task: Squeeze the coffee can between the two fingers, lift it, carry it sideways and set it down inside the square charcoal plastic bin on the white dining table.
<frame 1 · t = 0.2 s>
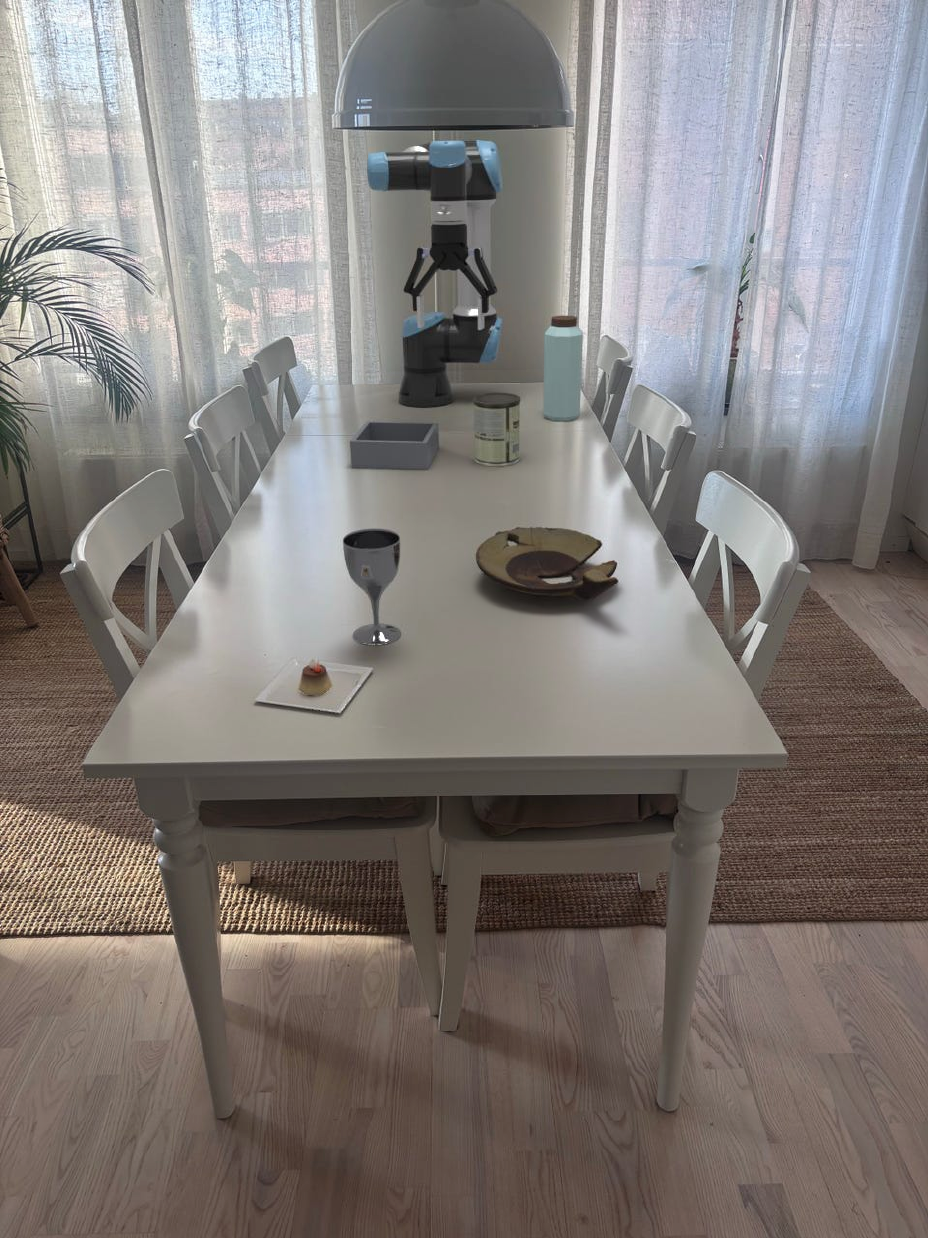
hand: (450, 327, 213), 28 cm above the table, fingers open, 13 cm apart
dessert: (316, 692, 130), on the table
brown shallow dish: (547, 589, 157), on the table
water bottle: (561, 417, 253), on the table
bin: (396, 457, 223), on the table
wine glass: (377, 635, 143), on the table
coffee can: (496, 460, 220), on the table
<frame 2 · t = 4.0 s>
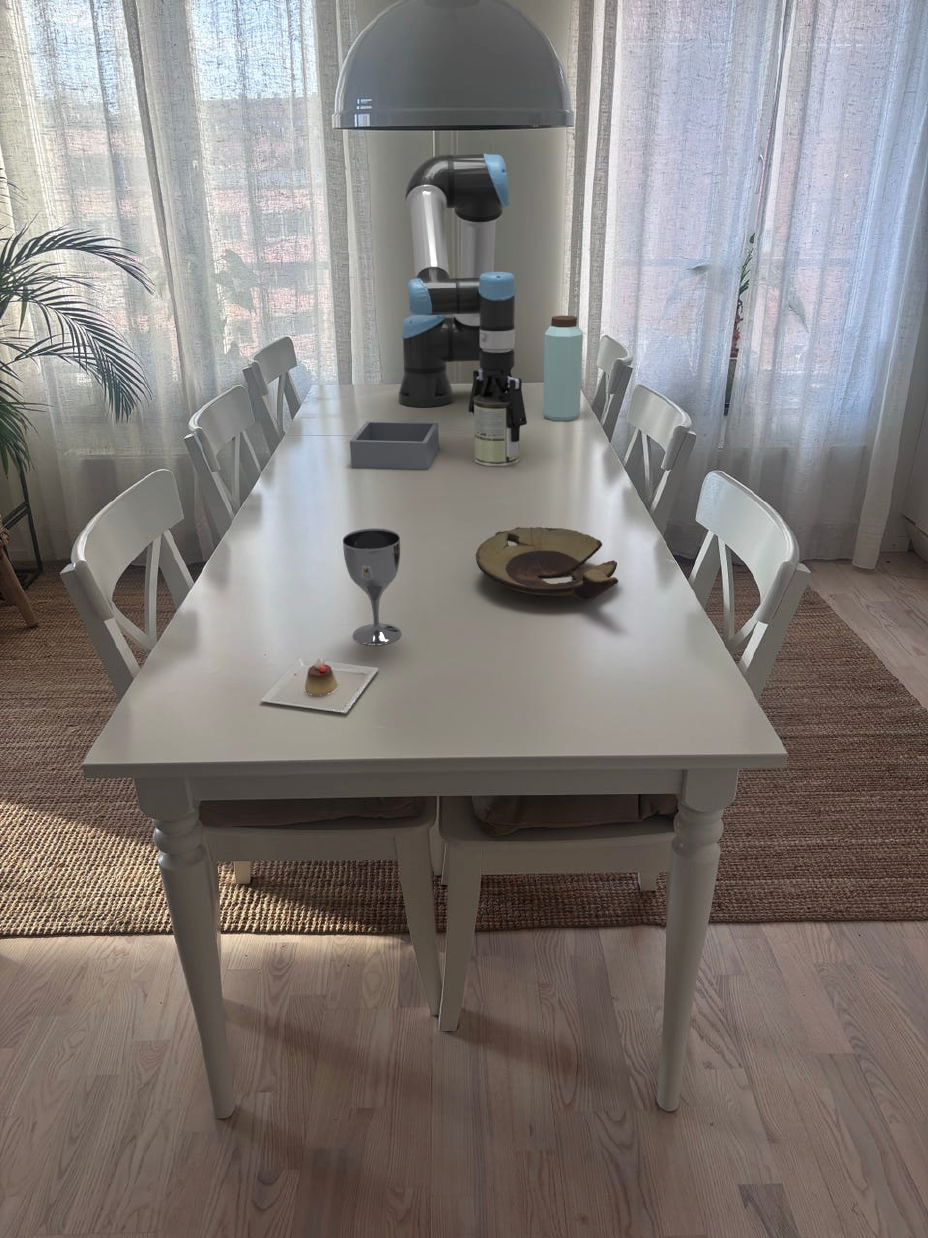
hand: (496, 450, 219), 2 cm above the table, fingers closed on coffee can, 10 cm apart
coffee can: (496, 460, 220), on the table, touching gripper
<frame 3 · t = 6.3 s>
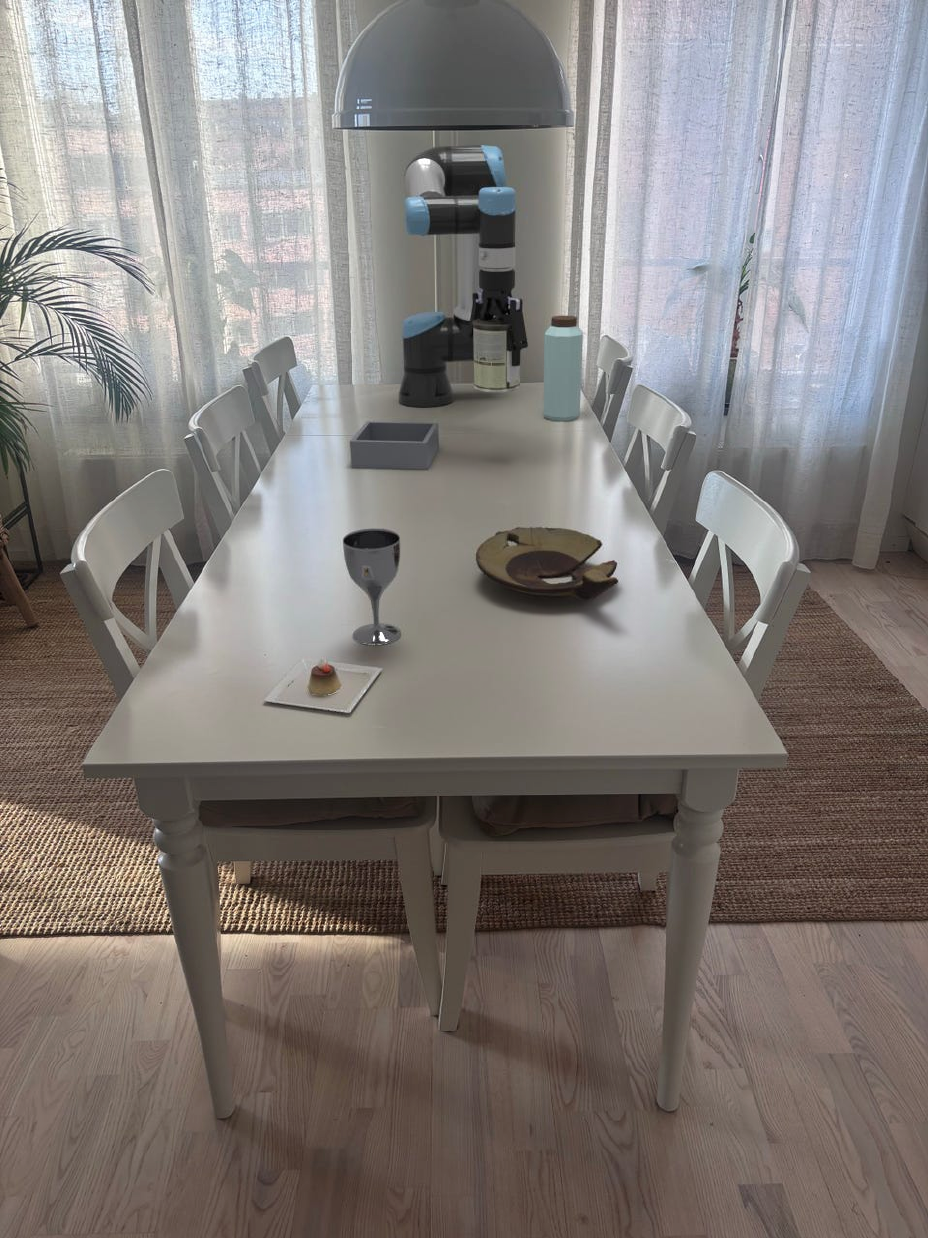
hand: (496, 376, 212), 19 cm above the table, fingers closed on coffee can, 10 cm apart
coffee can: (496, 388, 213), point 16 cm above the table, touching gripper
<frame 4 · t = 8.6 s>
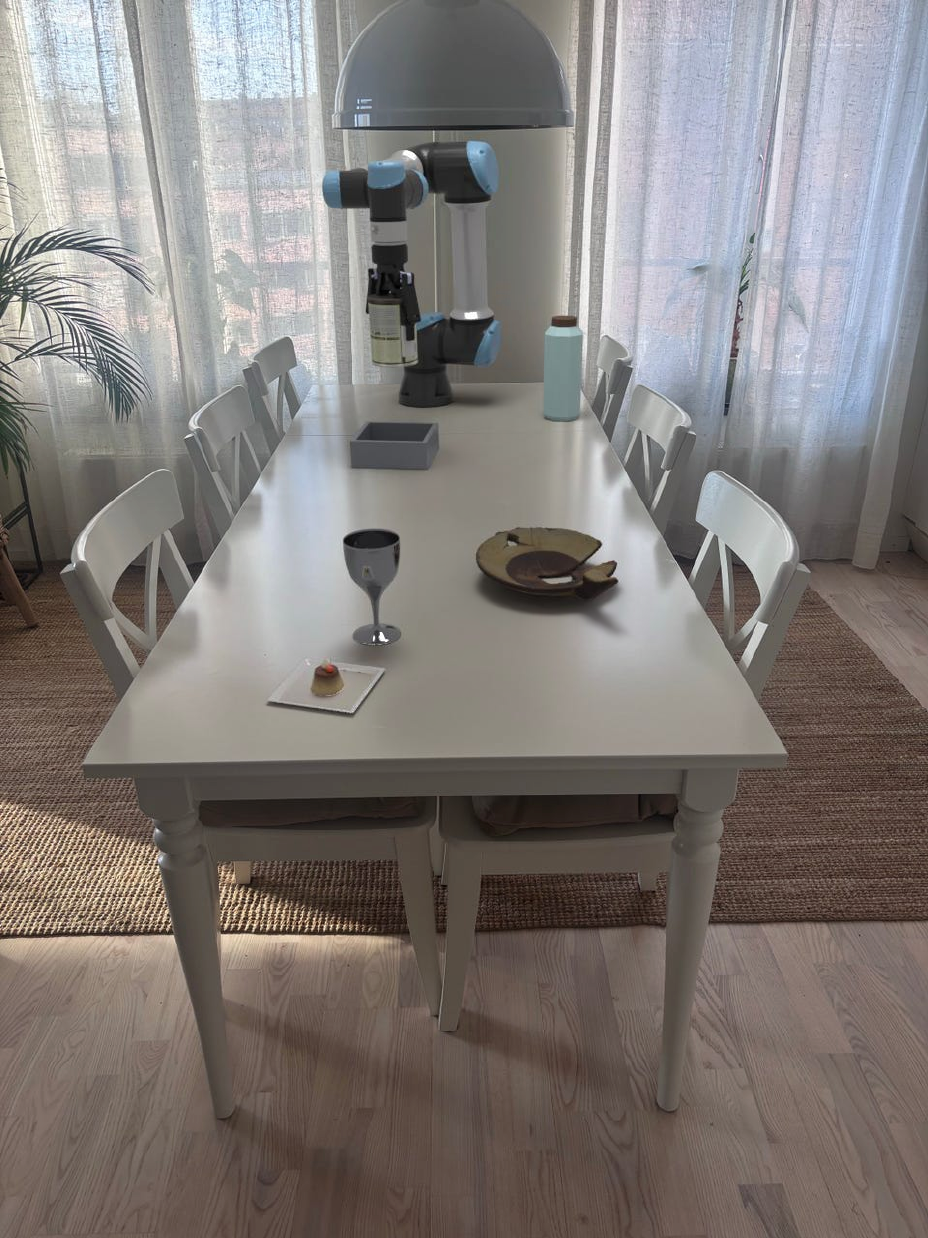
hand: (394, 352, 213), 24 cm above the table, fingers closed on coffee can, 10 cm apart
coffee can: (394, 363, 214), point 21 cm above the table, touching gripper
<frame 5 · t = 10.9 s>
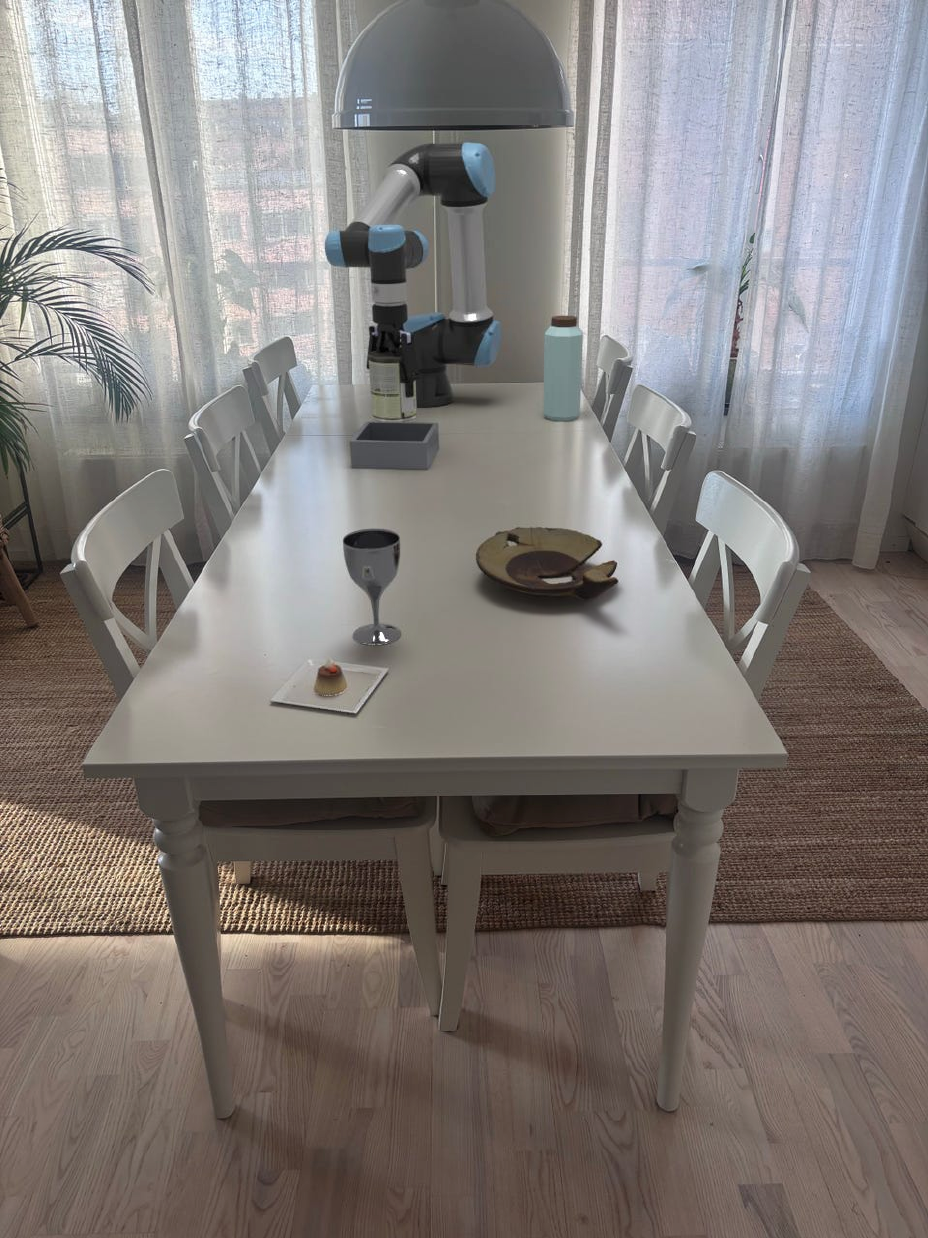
hand: (394, 406, 218), 12 cm above the table, fingers closed on coffee can, 10 cm apart
coffee can: (394, 417, 219), point 9 cm above the table, touching gripper
when the fingers open (6 cm above the table, at t = 13.1 s): coffee can drops 2 cm, resting on bin.
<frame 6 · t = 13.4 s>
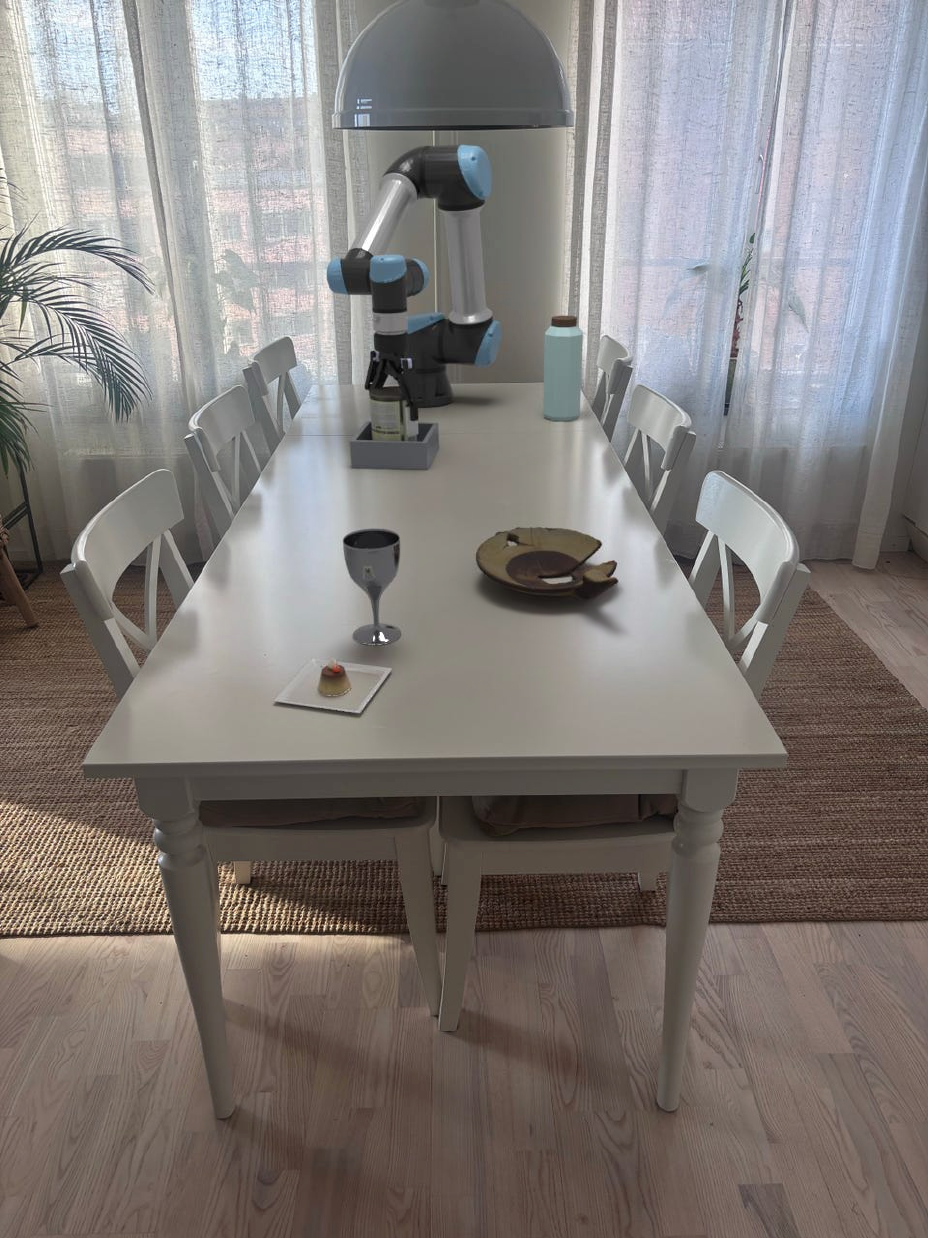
hand: (395, 428, 220), 7 cm above the table, fingers open, 13 cm apart
coffee can: (395, 453, 223), point 1 cm above the table, touching bin
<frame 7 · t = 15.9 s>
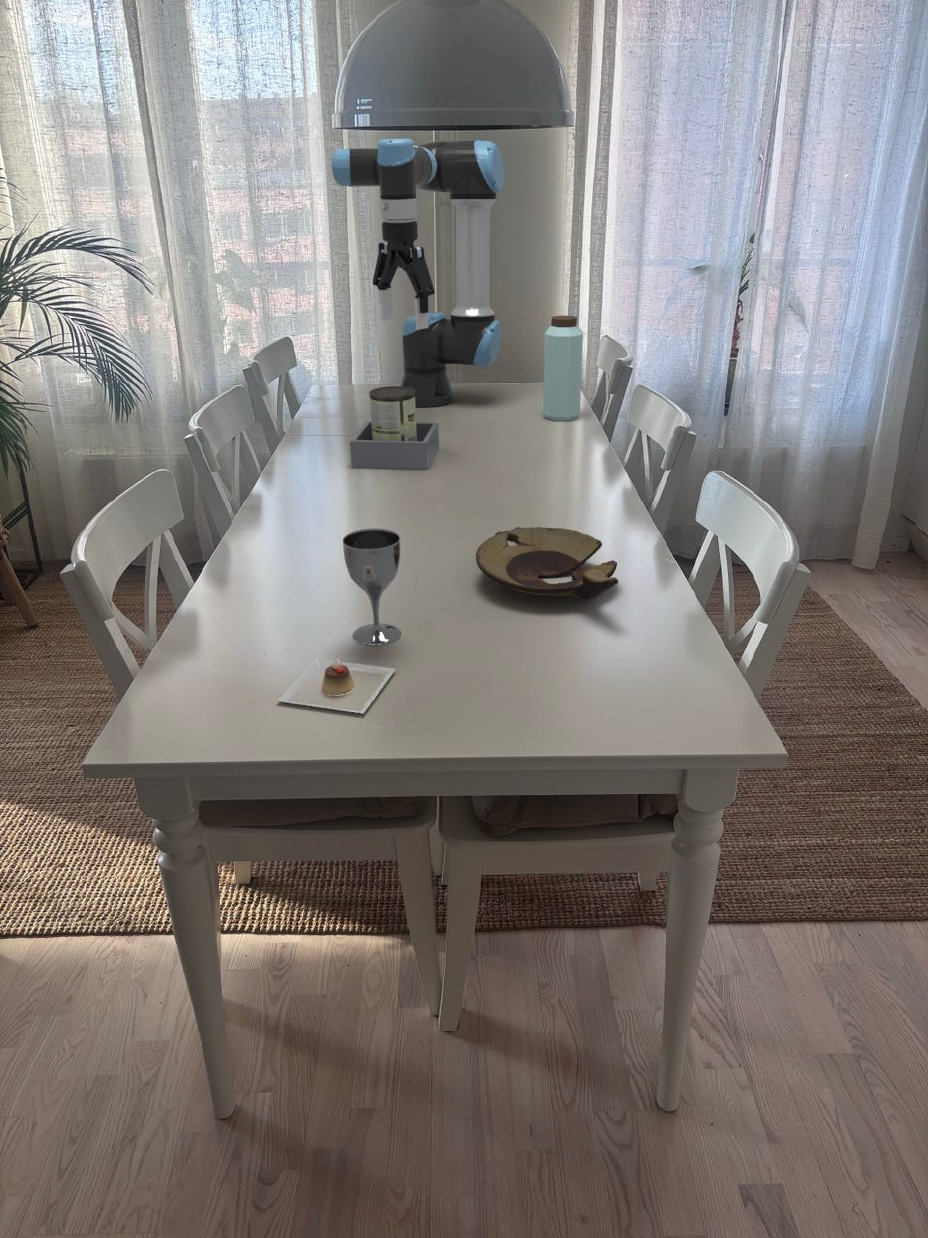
hand: (404, 324, 215), 29 cm above the table, fingers open, 13 cm apart
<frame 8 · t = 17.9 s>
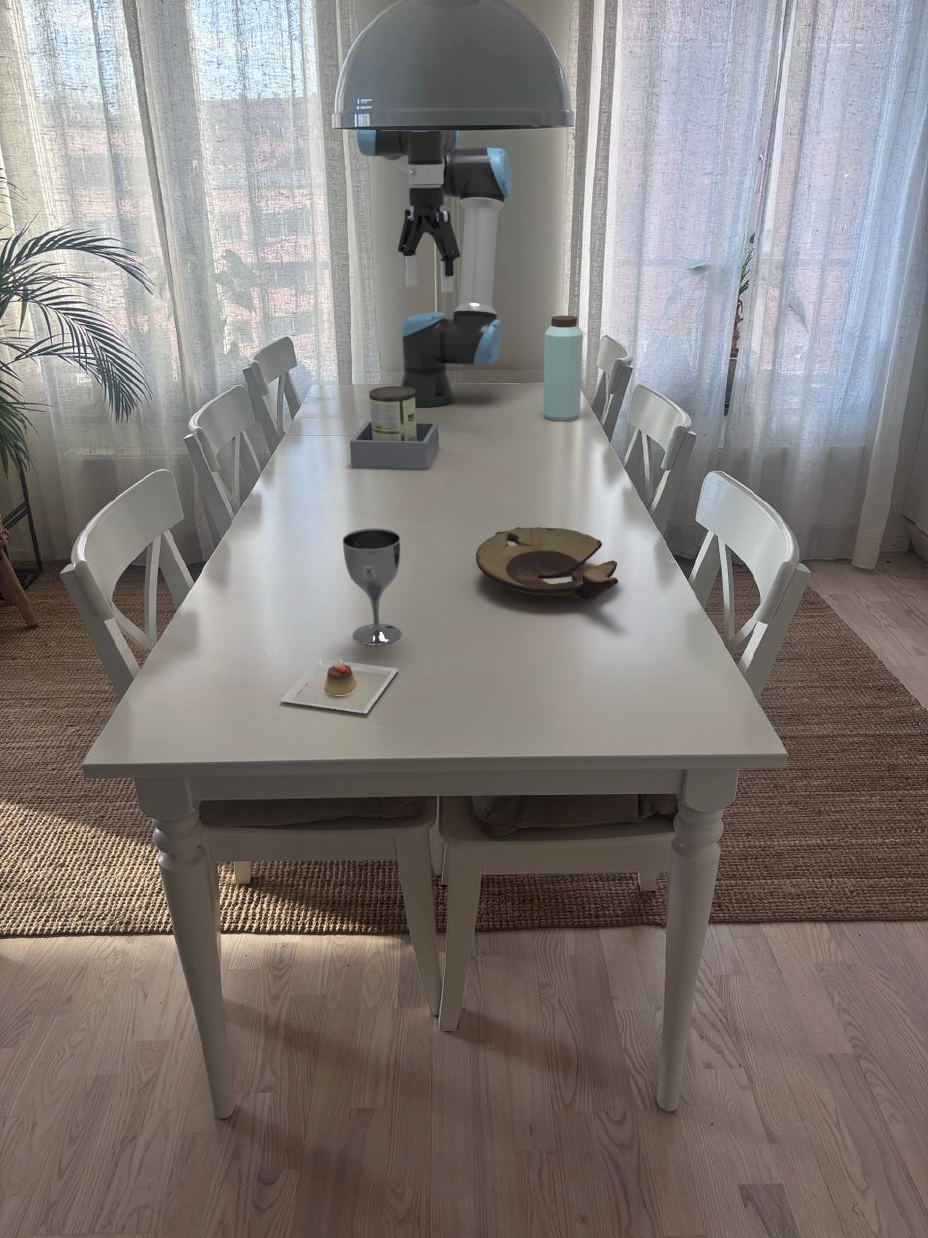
hand: (429, 288, 221), 35 cm above the table, fingers open, 13 cm apart
at the end: coffee can inside the target area on the bin (0.4 cm from its centre), point 0.8 cm above the bin's base; coffee can tilted 0°; the gripper is holding nothing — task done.
